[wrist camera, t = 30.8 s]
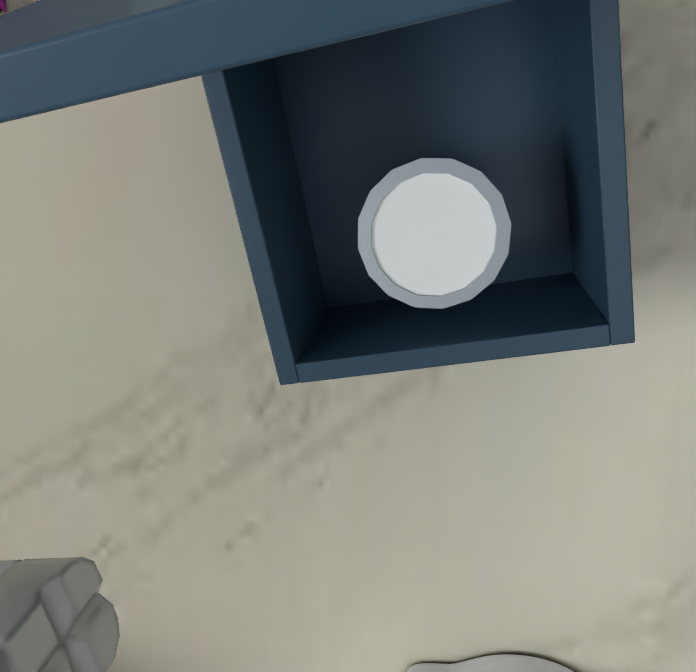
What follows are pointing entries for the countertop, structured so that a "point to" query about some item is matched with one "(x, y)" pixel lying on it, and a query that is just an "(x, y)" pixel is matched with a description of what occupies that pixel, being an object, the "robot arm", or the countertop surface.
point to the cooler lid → (173, 41)
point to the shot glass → (434, 233)
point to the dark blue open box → (435, 142)
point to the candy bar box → (2, 6)
